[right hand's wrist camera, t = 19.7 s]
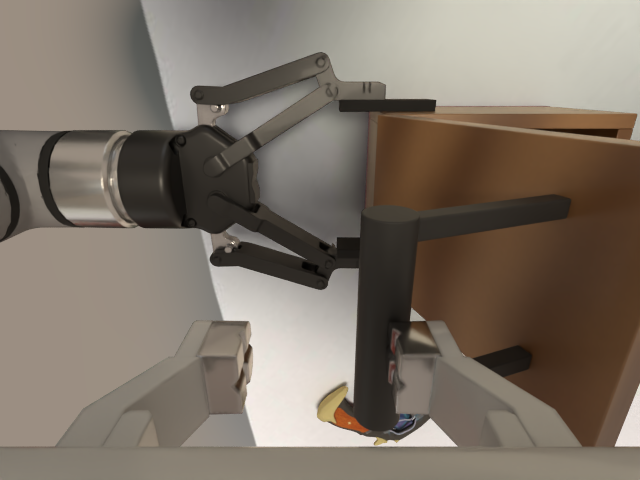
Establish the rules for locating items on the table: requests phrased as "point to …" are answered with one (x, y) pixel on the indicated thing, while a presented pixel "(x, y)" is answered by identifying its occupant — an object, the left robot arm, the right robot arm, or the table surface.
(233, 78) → the table surface
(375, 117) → the chest
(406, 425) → the toy gun
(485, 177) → the lid
